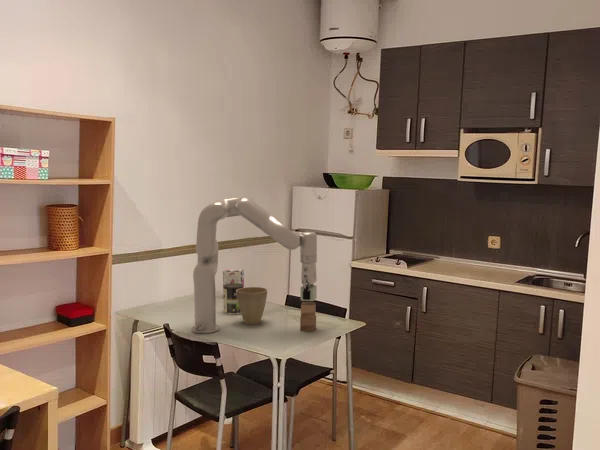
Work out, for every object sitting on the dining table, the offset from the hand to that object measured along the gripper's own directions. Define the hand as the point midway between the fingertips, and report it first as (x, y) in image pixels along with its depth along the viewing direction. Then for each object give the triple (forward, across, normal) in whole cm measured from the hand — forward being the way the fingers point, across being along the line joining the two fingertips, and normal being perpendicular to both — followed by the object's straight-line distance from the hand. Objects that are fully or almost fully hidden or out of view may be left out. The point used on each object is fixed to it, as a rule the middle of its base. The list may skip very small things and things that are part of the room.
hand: (308, 297), depth 272 cm
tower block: (+9, 0, 0) cm, 9 cm away
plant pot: (+15, +4, +29) cm, 33 cm away
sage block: (+1, 0, 0) cm, 1 cm away
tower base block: (+15, 0, 0) cm, 15 cm away
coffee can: (+15, +20, +45) cm, 52 cm away
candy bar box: (+15, +50, +57) cm, 77 cm away
